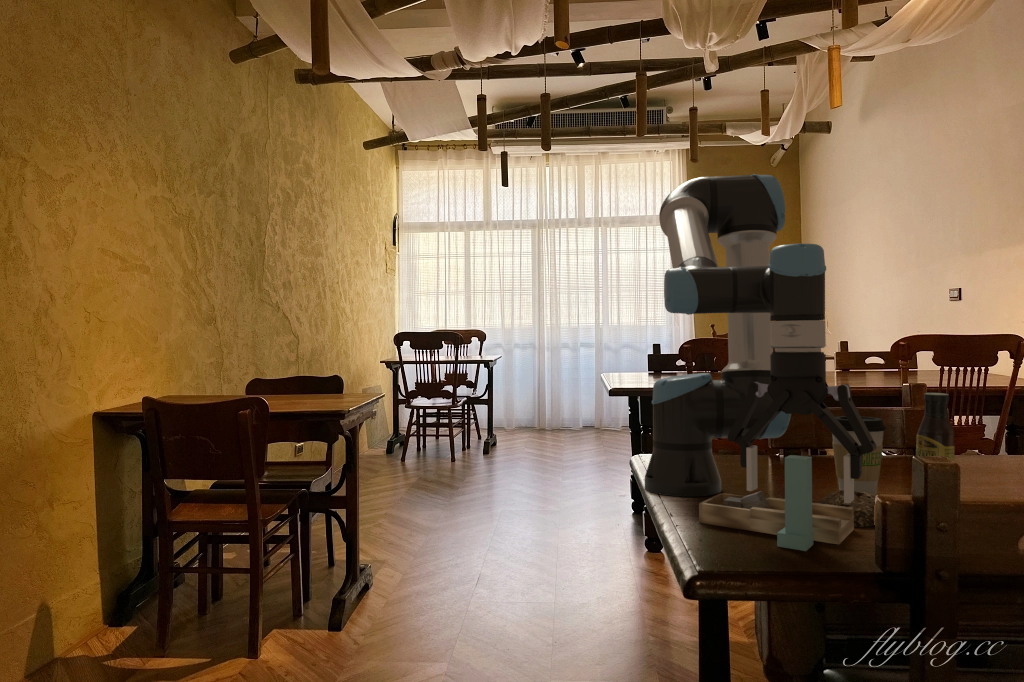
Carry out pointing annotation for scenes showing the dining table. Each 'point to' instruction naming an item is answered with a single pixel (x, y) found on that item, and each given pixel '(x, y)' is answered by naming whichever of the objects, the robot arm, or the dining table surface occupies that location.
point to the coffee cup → (869, 460)
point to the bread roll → (855, 506)
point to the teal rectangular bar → (797, 504)
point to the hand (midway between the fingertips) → (798, 495)
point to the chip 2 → (755, 501)
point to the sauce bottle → (935, 428)
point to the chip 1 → (733, 502)
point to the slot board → (778, 518)
